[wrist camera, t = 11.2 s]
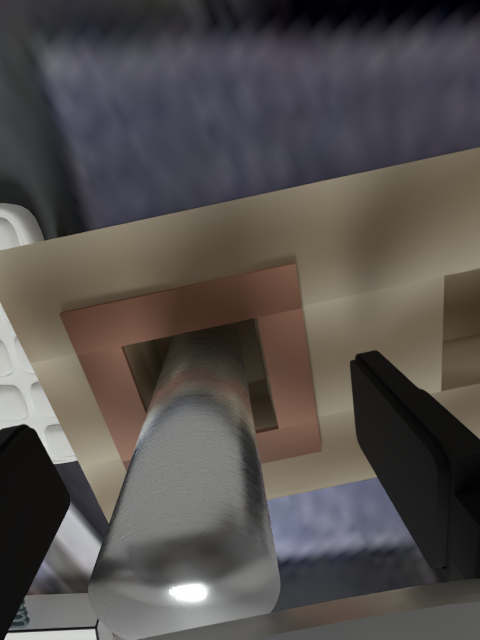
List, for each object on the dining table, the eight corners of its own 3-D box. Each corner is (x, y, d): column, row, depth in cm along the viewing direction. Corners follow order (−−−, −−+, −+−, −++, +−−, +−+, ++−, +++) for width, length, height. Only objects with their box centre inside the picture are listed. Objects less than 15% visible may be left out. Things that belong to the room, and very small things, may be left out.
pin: (246, 369, 15) (292, 630, 6) (181, 383, 15) (124, 664, 6) (233, 307, 14) (263, 507, 5) (163, 322, 14) (56, 550, 5)
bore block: (516, 369, 18) (626, 430, 13) (139, 447, 18) (111, 536, 13) (545, 132, 14) (721, 95, 9) (56, 237, 14) (-28, 256, 9)
